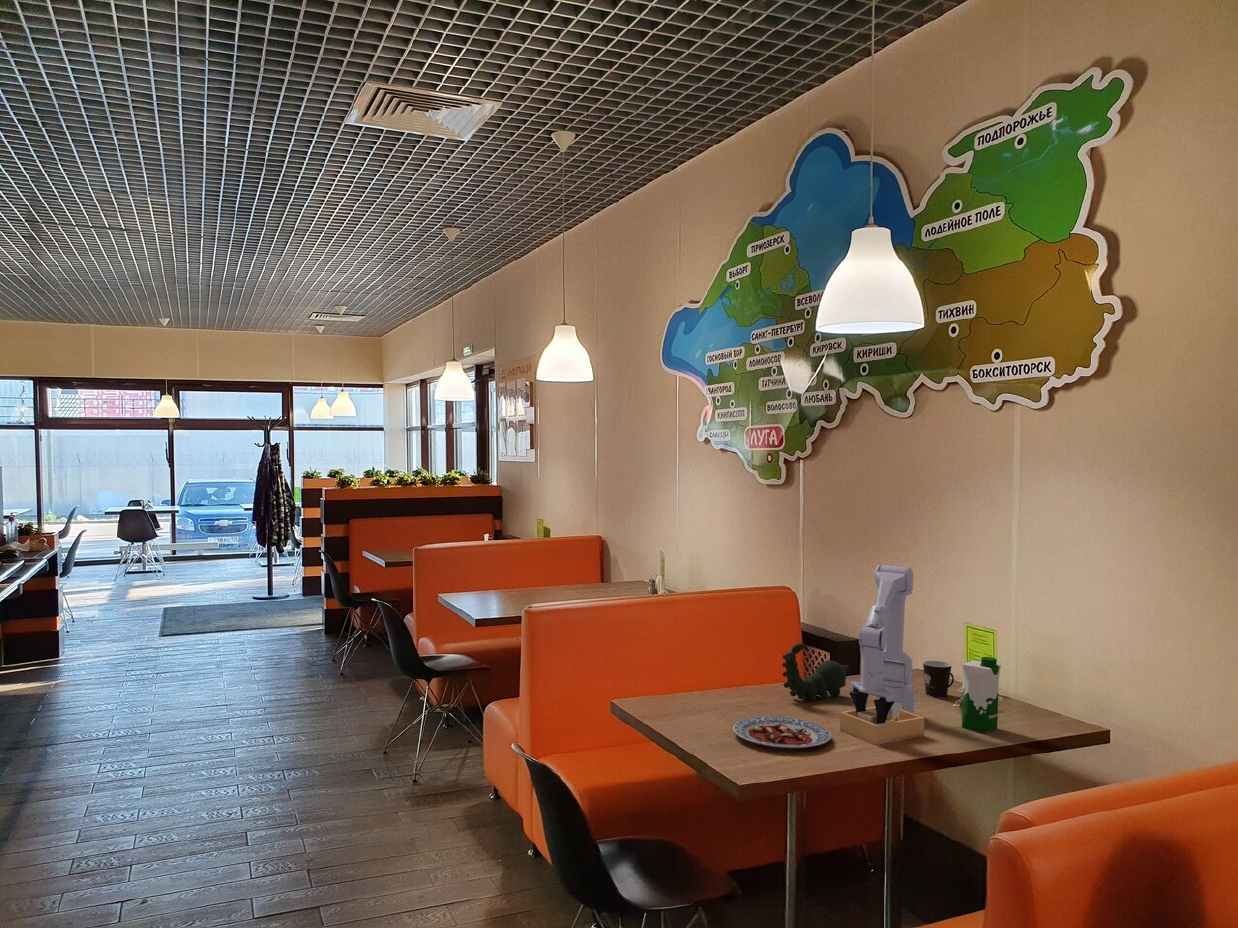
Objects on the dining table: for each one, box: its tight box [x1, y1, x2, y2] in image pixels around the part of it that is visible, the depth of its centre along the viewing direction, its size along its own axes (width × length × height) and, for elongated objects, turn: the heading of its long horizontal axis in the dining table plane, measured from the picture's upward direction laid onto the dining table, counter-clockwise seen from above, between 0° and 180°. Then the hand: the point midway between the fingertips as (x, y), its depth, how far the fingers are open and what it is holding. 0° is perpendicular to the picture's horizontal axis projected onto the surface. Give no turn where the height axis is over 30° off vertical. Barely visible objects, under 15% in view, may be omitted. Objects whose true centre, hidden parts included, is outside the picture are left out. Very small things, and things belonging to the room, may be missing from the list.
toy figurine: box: [781, 642, 851, 702], centre depth 282 cm, size 9×19×25 cm
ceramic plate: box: [732, 716, 832, 750], centre depth 242 cm, size 26×26×3 cm
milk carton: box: [961, 656, 1001, 734], centre depth 254 cm, size 9×9×20 cm
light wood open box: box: [839, 706, 925, 746], centre depth 248 cm, size 18×14×5 cm
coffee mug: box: [922, 660, 955, 698], centre depth 287 cm, size 12×9×10 cm
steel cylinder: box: [885, 701, 902, 723], centre depth 250 cm, size 5×5×7 cm
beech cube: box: [857, 710, 877, 725], centre depth 246 cm, size 5×5×5 cm
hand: (870, 721), depth 246 cm, fingers open, 7 cm apart
